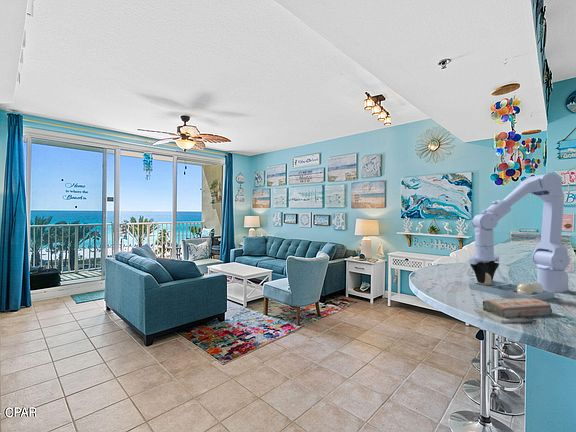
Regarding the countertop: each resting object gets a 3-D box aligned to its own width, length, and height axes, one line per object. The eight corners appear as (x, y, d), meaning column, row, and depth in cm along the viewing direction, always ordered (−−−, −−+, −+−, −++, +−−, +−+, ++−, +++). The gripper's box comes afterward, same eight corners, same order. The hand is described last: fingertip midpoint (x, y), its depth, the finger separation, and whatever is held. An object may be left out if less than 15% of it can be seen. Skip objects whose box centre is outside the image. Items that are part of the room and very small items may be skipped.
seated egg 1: (521, 296, 97) (520, 281, 97) (535, 299, 94) (534, 284, 94) (514, 297, 96) (513, 282, 96) (528, 300, 92) (527, 285, 92)
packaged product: (526, 294, 88) (560, 304, 78) (526, 310, 88) (560, 321, 78) (472, 296, 86) (501, 307, 76) (472, 312, 86) (501, 325, 76)
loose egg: (482, 284, 109) (482, 271, 109) (493, 286, 105) (493, 273, 105) (476, 285, 107) (475, 272, 108) (487, 287, 104) (486, 273, 104)
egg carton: (491, 287, 114) (491, 279, 114) (554, 300, 95) (554, 291, 95) (469, 291, 108) (469, 283, 108) (531, 305, 90) (530, 296, 90)
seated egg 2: (531, 294, 100) (531, 279, 100) (545, 296, 96) (545, 282, 96) (525, 295, 98) (525, 281, 98) (539, 298, 95) (538, 283, 95)
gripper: (485, 244, 113) (486, 278, 113) (461, 245, 107) (461, 281, 107) (505, 245, 107) (505, 281, 107) (480, 247, 101) (480, 285, 101)
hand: (484, 282), depth 106 cm, fingers closed on loose egg, 4 cm apart
